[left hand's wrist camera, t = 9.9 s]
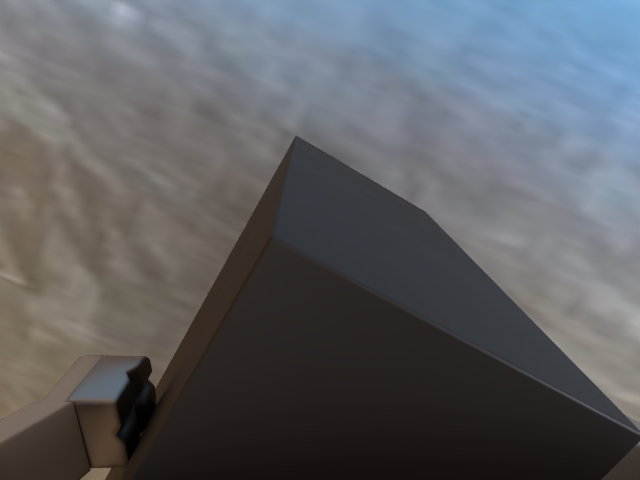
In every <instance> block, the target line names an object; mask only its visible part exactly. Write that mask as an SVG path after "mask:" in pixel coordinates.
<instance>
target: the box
mask: <svg viewBox="0 0 640 480" xmlns="http://www.w3.org/2000/svg"><path fill="white" fill-rule="evenodd" d="M155 391H156V406H155V408H154V410H153V412H152V414H151V417H150V419H149V421H148V423H147V425H146V426H145V428H144V430H143V432H142V433H140V439H139V441H138V443H137V445H136V447H135V449H134V451H133V453H132V456H131V458H130V460H129V462H128V463H127V465H126V467H112V468H111V470H110V472H109V474H108V476H107V477H106V479H105V480H602V479H603V478H604V477H605V476H606V475H607V474H608V473H609V472H610V471H611V470H612V469H613V468H614V467H615V466H616V465H617V464H618V463H619V462H620V461H621V460H622V459H623V458H624V457H625V456H626V455H627V454H628V453H629V452H630V451H631V450H632V449H633V448H634V447H635V446H636V445H637V444H638V443H639V442H640V430H639V429H638V428H637V427H636V426H635V425H634V424H633V423H632V422H631V421H630V420H629V419H628V418H627V417H626V416H625V415H624V414H623V413H622V412H621V411H620V410H619V409H618V408H617V407H616V406H615V405H614V404H613V403H612V402H611V401H610V399H609V398H608V397H607V396H606V395H605V394H604V393H603V392H602V391H601V390H600V389H599V388H598V387H597V386H596V385H595V384H594V383H593V382H592V381H591V380H590V379H589V378H588V377H587V376H586V375H585V374H584V373H583V372H582V371H581V370H580V369H579V368H578V367H577V366H576V365H575V364H574V363H573V362H572V361H571V360H570V359H569V358H568V357H567V356H566V355H565V354H564V353H563V352H562V351H561V350H560V349H559V348H558V347H557V346H556V344H555V343H554V342H553V341H552V340H551V339H550V338H549V337H548V336H547V335H546V334H545V333H544V332H543V331H542V330H541V329H540V328H539V327H538V326H537V325H536V324H535V323H534V322H533V321H532V320H531V319H530V318H529V317H528V316H527V315H526V314H525V313H524V312H523V311H522V310H521V309H520V308H519V307H518V306H517V305H516V304H515V303H514V302H513V301H512V300H511V299H510V298H509V297H508V296H507V295H506V294H505V293H504V292H503V291H502V289H501V288H500V287H499V286H498V285H497V284H496V283H495V282H494V281H493V280H492V279H491V278H490V277H489V276H488V275H487V274H486V273H485V272H484V271H483V270H482V269H481V268H480V267H479V266H478V265H477V264H476V263H475V262H474V261H473V260H472V259H471V258H470V257H469V256H468V255H467V254H466V253H465V252H464V251H463V250H462V249H461V248H460V247H459V246H458V245H457V244H456V243H455V242H454V241H453V240H452V239H451V238H450V237H449V236H448V234H447V233H446V232H445V231H444V230H443V229H442V228H441V227H440V226H439V225H438V224H437V223H436V222H435V221H434V220H433V219H432V218H431V217H430V216H429V215H428V214H427V213H426V212H425V211H423V210H421V209H420V208H418V207H416V206H415V205H413V204H411V203H410V202H408V201H406V200H404V199H403V198H401V197H399V196H398V195H396V194H394V193H393V192H391V191H389V190H387V189H386V188H384V187H382V186H381V185H379V184H377V183H376V182H374V181H372V180H371V179H369V178H367V177H365V176H364V175H362V174H360V173H359V172H357V171H355V170H354V169H352V168H350V167H349V166H347V165H345V164H343V163H342V162H340V161H338V160H337V159H335V158H333V157H332V156H330V155H328V154H327V153H325V152H323V151H321V150H320V149H318V148H316V147H315V146H313V145H311V144H310V143H308V142H306V141H304V140H303V139H301V138H299V137H298V136H296V137H295V138H294V140H293V142H292V144H291V145H290V147H289V149H288V151H287V153H286V154H285V156H284V158H283V160H282V162H281V164H280V165H279V167H278V169H277V171H276V173H275V174H274V176H273V178H272V180H271V182H270V183H269V185H268V187H267V189H266V191H265V192H264V194H263V196H262V198H261V200H260V201H259V203H258V205H257V207H256V209H255V210H254V212H253V214H252V216H251V218H250V219H249V221H248V223H247V225H246V227H245V228H244V230H243V232H242V234H241V236H240V237H239V239H238V241H237V243H236V245H235V246H234V248H233V250H232V252H231V254H230V256H229V257H228V259H227V261H226V263H225V265H224V266H223V268H222V270H221V272H220V274H219V275H218V277H217V279H216V281H215V283H214V284H213V286H212V288H211V290H210V292H209V293H208V295H207V297H206V299H205V301H204V302H203V304H202V306H201V308H200V310H199V311H198V313H197V315H196V317H195V319H194V320H193V322H192V324H191V326H190V328H189V329H188V331H187V333H186V335H185V337H184V338H183V340H182V342H181V344H180V346H179V347H178V349H177V351H176V353H175V355H174V357H173V358H172V360H171V362H170V364H169V366H168V367H167V369H166V371H165V373H164V375H163V376H162V378H161V380H160V382H159V384H158V385H157V387H156V389H155Z"/></svg>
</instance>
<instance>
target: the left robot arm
mask: <svg viewBox="0 0 640 480" xmlns="http://www.w3.org/2000/svg"><path fill="white" fill-rule="evenodd" d="M151 372H152V368H151V363H150V359H149V358H147V357H146V356H107V355H106V356H103V355H85V356H82V357H79V359H78V360H77V361H76V362H75V363H74V364H73V366H72V367H71V368H70V369H69V370H68V371H67V373H66V374H65V375H64V376H63V377H62V378H61V380H60V381H59V382H58V383H57V384H56V386H55V387H54V388H53V389H52V390H51V391H50V393H49V394H48V395H47V396H46V397H45V398H44V400H43V401H42V402H34V403H32V404H30V405H28V406H26V407H24V408H22V409H20V410H18V411H16V412H15V413H13V414H11V415H9V416H7V417H5V418H3V419H1V420H0V480H80V479H81V478H82V477H83V476H84V475H86V474H87V473H88V472H89V471H90V468H112V467H126V465H127V463H128V462H129V460H130V458H131V456H132V453H133V451H134V449H135V447H136V445H137V443H138V441H139V439H140V433H142V432H143V430H144V428H145V426H146V425H147V423H148V421H149V419H150V417H151V414H152V412H153V410H154V408H155V406H156V391H155V386H154V385H153V384H152V383H151V382H150V381H149V380H148V378H149V376H150V374H151ZM625 416H626V415H625ZM626 417H627V418H628V419H629V420H630V421H631V422H632V423H633V424H634V425H635V426H636V427H637V428H638V429H639V430H640V423H639V422H637V421H636V420H634V419H632V418H630V417H628V416H626ZM602 480H640V442H639V443H638V444H637V445H636V446H635V447H634V448H633V449H632V450H631V451H630V452H629V453H628V454H627V455H626V456H625V457H624V458H623V459H622V460H621V461H620V462H619V463H618V464H617V465H616V466H615V467H614V468H613V469H612V470H611V471H610V472H609V473H608V474H607V475H606V476H605V477H604V478H603V479H602Z"/></svg>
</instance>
